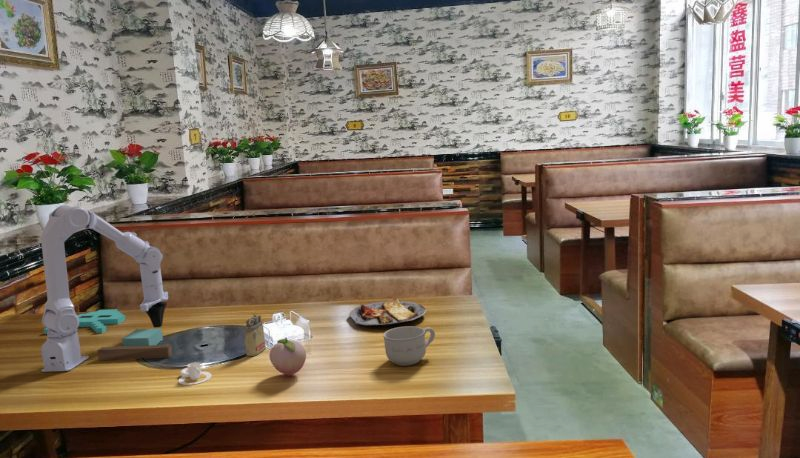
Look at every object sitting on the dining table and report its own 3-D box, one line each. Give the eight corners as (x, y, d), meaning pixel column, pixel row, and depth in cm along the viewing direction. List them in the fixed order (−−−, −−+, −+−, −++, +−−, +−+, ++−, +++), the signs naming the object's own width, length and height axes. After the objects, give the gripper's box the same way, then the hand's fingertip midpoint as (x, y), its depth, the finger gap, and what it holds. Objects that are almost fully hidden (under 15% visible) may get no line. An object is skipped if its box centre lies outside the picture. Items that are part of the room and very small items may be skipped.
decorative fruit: (315, 374, 147) (311, 336, 145) (287, 386, 141) (283, 346, 139) (293, 365, 153) (290, 328, 152) (266, 375, 148) (262, 337, 146)
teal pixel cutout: (102, 334, 189) (136, 314, 209) (101, 327, 189) (135, 308, 209) (44, 335, 192) (83, 316, 211) (43, 329, 191) (82, 310, 211)
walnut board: (168, 357, 164) (167, 347, 164) (99, 360, 165) (97, 350, 165) (171, 354, 166) (170, 344, 166) (103, 357, 167) (101, 347, 167)
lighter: (254, 357, 161) (251, 321, 159) (242, 356, 162) (238, 321, 160) (268, 347, 167) (264, 313, 166) (256, 346, 169) (252, 313, 167)
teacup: (391, 372, 145) (389, 341, 144) (380, 357, 155) (378, 328, 154) (444, 363, 149) (442, 333, 147) (430, 348, 159) (429, 320, 158)
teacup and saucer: (178, 376, 152) (176, 361, 151) (210, 370, 155) (208, 355, 154) (178, 389, 144) (176, 373, 143) (212, 382, 146) (210, 367, 146)
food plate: (343, 312, 197) (342, 302, 196) (409, 302, 203) (409, 292, 203) (361, 336, 173) (360, 324, 172) (435, 324, 180) (435, 312, 179)
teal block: (149, 351, 171) (148, 338, 170) (123, 351, 172) (121, 338, 171) (163, 341, 179) (161, 328, 178) (137, 341, 180) (136, 329, 179)
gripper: (154, 290, 174) (159, 334, 177) (175, 277, 189) (180, 318, 191) (130, 291, 175) (137, 335, 177) (153, 278, 189) (159, 319, 191)
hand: (158, 326), depth 184 cm, fingers closed
